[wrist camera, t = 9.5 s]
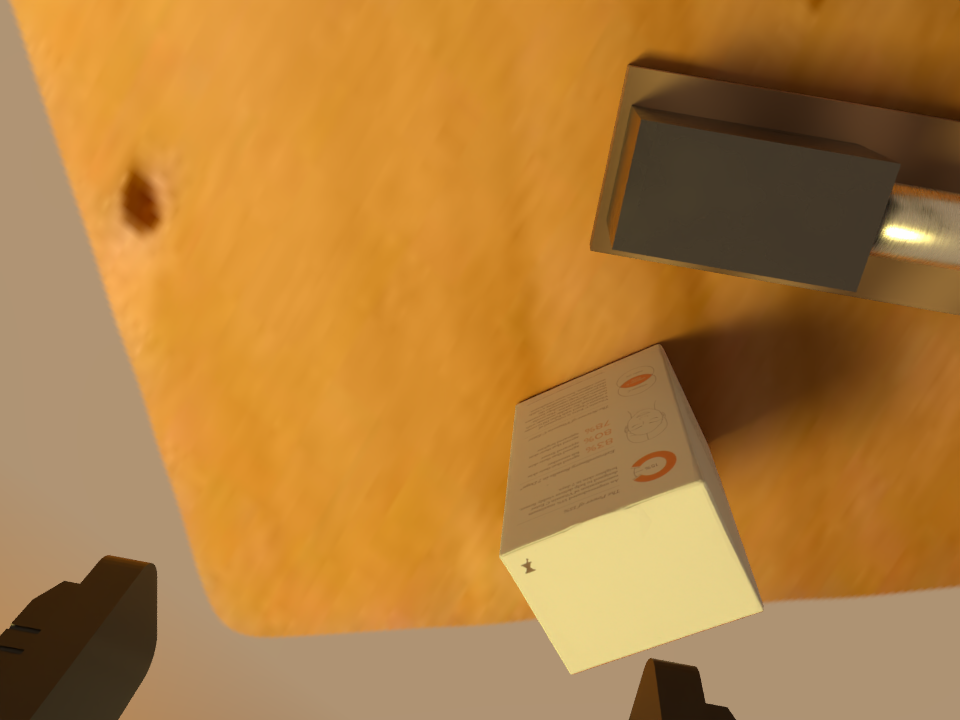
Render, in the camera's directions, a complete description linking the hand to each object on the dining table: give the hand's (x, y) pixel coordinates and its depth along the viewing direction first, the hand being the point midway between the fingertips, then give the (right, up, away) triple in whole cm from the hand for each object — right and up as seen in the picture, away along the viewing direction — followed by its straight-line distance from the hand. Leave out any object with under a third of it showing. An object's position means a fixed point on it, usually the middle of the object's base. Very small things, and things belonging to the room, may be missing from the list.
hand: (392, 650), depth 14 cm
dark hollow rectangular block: (+12, +12, +23) cm, 29 cm away
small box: (+8, +1, +29) cm, 31 cm away
